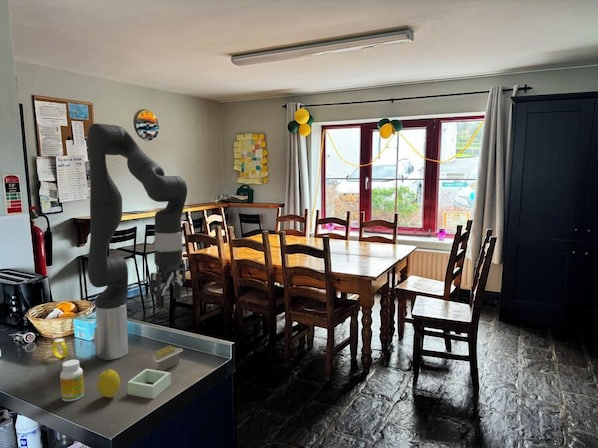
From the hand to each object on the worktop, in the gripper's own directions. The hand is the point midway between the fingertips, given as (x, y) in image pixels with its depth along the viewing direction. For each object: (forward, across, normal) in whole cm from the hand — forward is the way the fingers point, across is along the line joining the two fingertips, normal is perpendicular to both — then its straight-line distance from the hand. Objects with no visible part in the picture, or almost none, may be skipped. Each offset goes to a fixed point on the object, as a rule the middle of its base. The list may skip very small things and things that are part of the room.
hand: (169, 303), depth 117 cm
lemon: (+24, +12, -11) cm, 29 cm away
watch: (+25, -4, -43) cm, 50 cm away
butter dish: (+25, -8, -6) cm, 26 cm away
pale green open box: (+24, +5, -3) cm, 25 cm away
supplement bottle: (+24, +14, -21) cm, 35 cm away
